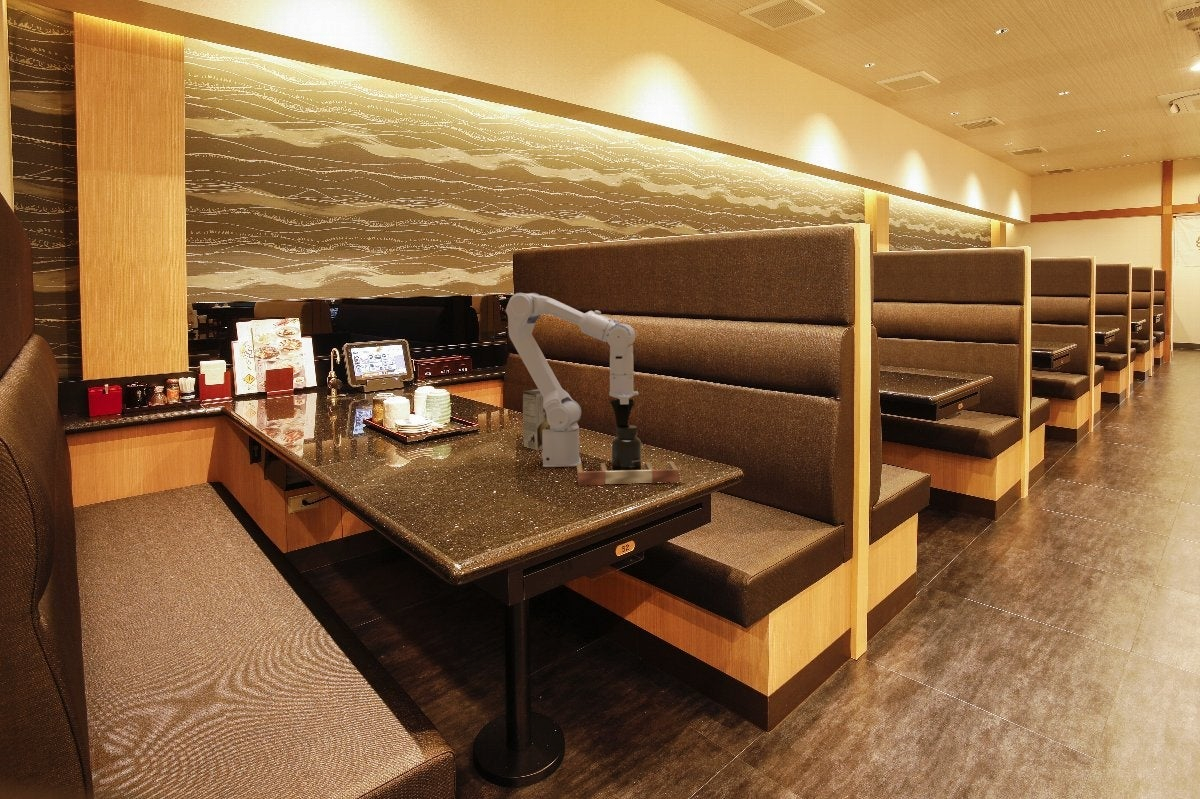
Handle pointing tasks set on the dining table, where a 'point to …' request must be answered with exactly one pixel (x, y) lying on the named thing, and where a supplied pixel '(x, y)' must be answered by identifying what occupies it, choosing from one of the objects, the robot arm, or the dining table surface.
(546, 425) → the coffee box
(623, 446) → the supplement bottle
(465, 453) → the dining table surface
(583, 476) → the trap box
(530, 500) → the dining table surface
